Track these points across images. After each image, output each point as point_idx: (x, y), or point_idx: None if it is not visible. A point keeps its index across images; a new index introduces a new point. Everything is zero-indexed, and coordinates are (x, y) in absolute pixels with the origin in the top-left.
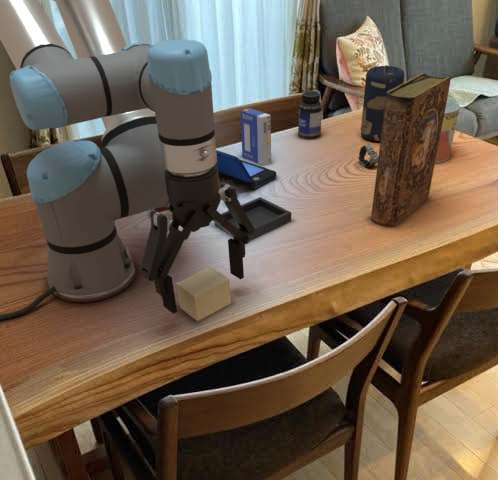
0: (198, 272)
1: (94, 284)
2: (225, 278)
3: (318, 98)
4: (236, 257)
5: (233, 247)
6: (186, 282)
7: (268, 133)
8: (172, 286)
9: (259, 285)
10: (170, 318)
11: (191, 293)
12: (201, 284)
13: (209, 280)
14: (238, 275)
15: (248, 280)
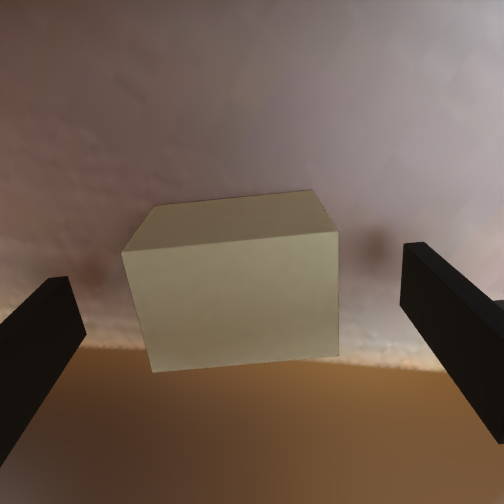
0: (258, 238)
1: None
2: (328, 347)
3: None
4: (451, 354)
5: (485, 378)
6: (166, 277)
7: None
8: (19, 431)
9: (460, 263)
10: (101, 238)
11: (150, 350)
12: (218, 324)
13: (264, 319)
14: (406, 301)
15: (457, 215)
